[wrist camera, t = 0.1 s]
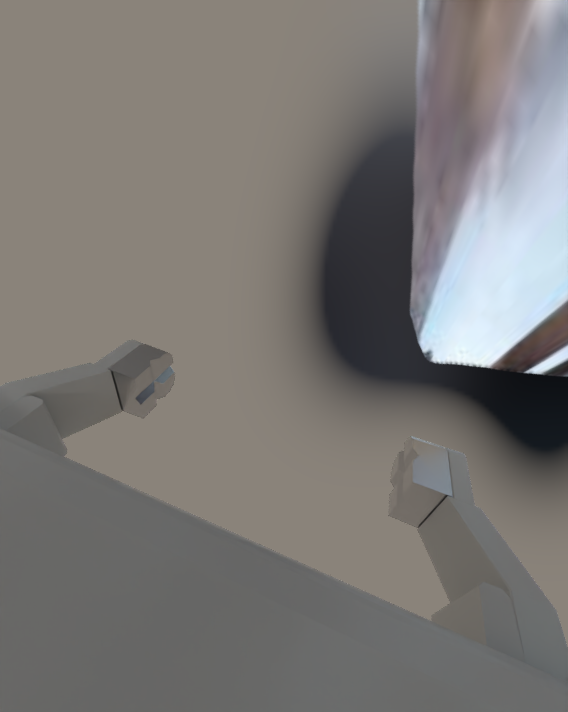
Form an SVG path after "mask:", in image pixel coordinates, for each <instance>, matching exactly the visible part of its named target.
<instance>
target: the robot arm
mask: <svg viewBox="0 0 568 712" xmlns="http://www.w3.org/2000/svg"><path fill="white" fill-rule="evenodd" d="M172 363H173V357H172V355H171V354H170V353H168V352H165V351H163V350H160V349H157V348H155V347H152V346H149V345H146V344H143V343H140V342H138V341H135V340H129V341H127V342H125V343H124V344H122V345H121V346H119V347H118V348H116V349H115V350H113V351H112V352H111V353H109V354H108V355H106V356H105V357H103V358H102V359H100V360H99V361H98V362H96V363H95V364H91V363H87V364H84V365H79V366H75V367H71V368H67V369H63V370H59V371H55V372H51V373H46V374H42V375H38V376H34V377H29V378H25V379H21V380H17V381H13V382H9V383H5V384H4V385H2V386H0V712H568V647H567V644H566V641H565V637H564V634H563V631H562V627H561V624H560V621H559V618H558V614H557V611H556V609H555V608H554V607H553V605H552V604H551V603H550V601H549V600H548V599H547V597H546V596H545V595H544V593H543V592H542V590H541V589H540V588H539V586H538V585H537V584H536V582H535V581H534V580H533V578H532V577H531V576H530V574H529V573H528V571H527V570H526V569H525V567H524V566H523V565H522V563H521V562H520V561H519V559H518V558H517V557H516V555H515V554H514V553H513V551H512V550H511V549H510V547H509V546H508V544H507V543H506V542H505V540H504V539H503V538H502V536H501V535H500V534H499V533H498V531H497V530H496V528H495V527H494V526H493V524H492V523H491V522H490V520H489V519H488V518H487V516H486V515H485V514H484V512H483V511H482V510H481V508H479V507H476V506H475V504H474V499H473V493H472V487H471V482H470V477H469V471H468V465H467V460H466V456H465V455H464V454H463V453H460V452H457V451H454V450H451V449H448V448H444V447H442V446H439V445H436V444H433V443H430V442H427V441H424V440H421V439H418V438H415V437H412V436H410V437H409V438H407V440H406V442H405V443H404V451H402V452H399V454H398V455H397V457H396V459H395V461H394V464H393V467H392V472H391V483H392V485H393V487H394V489H393V490H392V492H391V493H390V497H389V516H391V517H393V518H395V519H398V520H400V521H402V522H405V523H407V524H409V525H412V526H414V527H416V528H418V532H419V534H420V537H421V539H422V541H423V543H424V545H425V548H426V550H427V552H428V554H429V556H430V559H431V561H432V563H433V565H434V567H435V570H436V572H437V574H438V576H439V579H440V581H441V583H442V585H443V587H444V590H445V592H446V594H447V596H448V599H449V601H450V604H448V605H447V606H445V607H444V608H442V609H441V610H439V611H438V612H436V613H435V614H433V615H432V621H430V620H428V619H425V618H423V617H421V616H419V615H417V614H414V613H412V612H410V611H408V610H405V609H403V608H401V607H399V606H396V605H394V604H392V603H390V602H387V601H385V600H383V599H381V598H378V597H376V596H374V595H372V594H370V593H367V592H365V591H363V590H361V589H359V588H356V587H354V586H352V585H350V584H347V583H345V582H343V581H341V580H338V579H336V578H334V577H332V576H329V575H327V574H325V573H323V572H320V571H318V570H316V569H314V568H311V567H309V566H307V565H305V564H303V563H300V562H298V561H296V560H294V559H292V558H289V557H287V556H285V555H282V554H280V553H278V552H276V551H274V550H272V549H269V548H267V547H265V546H263V545H260V544H258V543H256V542H254V541H251V540H249V539H247V538H245V537H242V536H240V535H238V534H236V533H234V532H231V531H229V530H227V529H225V528H222V527H220V526H218V525H216V524H214V523H211V522H209V521H207V520H205V519H202V518H200V517H198V516H196V515H193V514H191V513H189V512H187V511H184V510H182V509H180V508H178V507H175V506H173V505H171V504H169V503H166V502H164V501H162V500H160V499H158V498H155V497H153V496H151V495H149V494H147V493H144V492H142V491H140V490H137V489H135V488H133V487H131V486H129V485H126V484H124V483H122V482H120V481H117V480H115V479H113V478H111V477H108V476H106V475H104V474H102V473H99V472H97V471H95V470H93V469H91V468H88V467H86V466H84V465H82V464H80V463H77V462H75V461H73V460H71V459H68V458H66V457H64V456H65V455H66V454H67V448H66V446H65V444H64V442H63V440H62V439H63V438H65V437H68V436H70V435H72V434H74V433H76V432H79V431H81V430H83V429H85V428H88V427H90V426H92V425H94V424H96V423H99V422H101V421H103V420H105V419H108V418H110V417H112V416H114V415H116V414H119V413H121V412H122V411H124V412H127V413H130V414H133V415H135V416H138V417H141V418H145V416H147V415H148V413H150V411H151V410H152V409H153V408H154V407H155V406H156V405H157V399H160V398H163V397H165V396H166V395H167V394H168V393H169V392H170V390H171V388H172V386H173V384H174V380H175V374H174V371H173V370H172V368H171V367H170V365H171V364H172Z"/></svg>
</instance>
